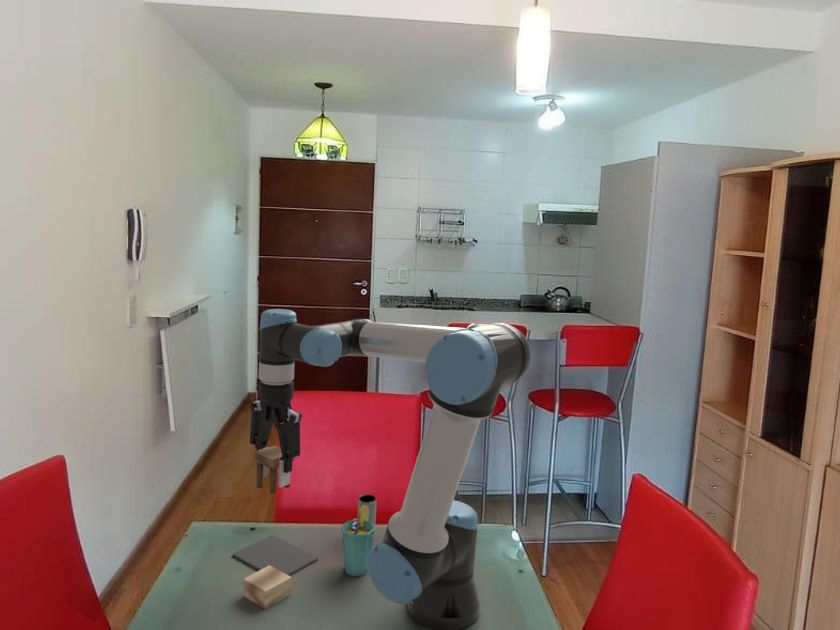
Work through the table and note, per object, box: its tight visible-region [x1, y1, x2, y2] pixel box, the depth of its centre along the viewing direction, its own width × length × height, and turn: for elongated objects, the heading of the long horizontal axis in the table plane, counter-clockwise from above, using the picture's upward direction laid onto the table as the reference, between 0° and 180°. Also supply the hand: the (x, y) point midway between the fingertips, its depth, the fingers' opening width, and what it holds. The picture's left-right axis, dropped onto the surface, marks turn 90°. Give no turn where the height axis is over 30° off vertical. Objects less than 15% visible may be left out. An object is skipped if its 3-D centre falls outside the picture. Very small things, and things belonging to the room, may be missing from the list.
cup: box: [340, 505, 376, 577], centre depth 146 cm, size 14×8×15 cm, turn 176°
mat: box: [232, 534, 319, 577], centre depth 151 cm, size 16×12×1 cm
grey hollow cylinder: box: [357, 494, 377, 540], centre depth 163 cm, size 4×4×10 cm
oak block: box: [242, 565, 292, 610], centre depth 136 cm, size 7×7×4 cm
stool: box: [253, 445, 294, 495], centre depth 143 cm, size 6×6×8 cm
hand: (273, 480), depth 143 cm, fingers closed on stool, 6 cm apart
